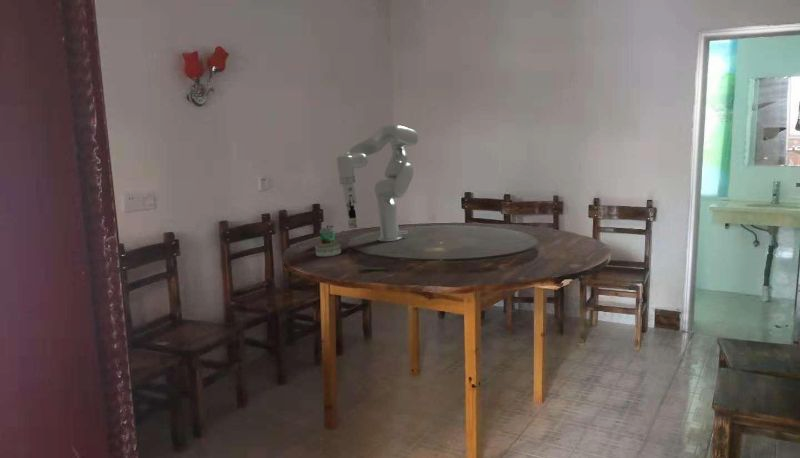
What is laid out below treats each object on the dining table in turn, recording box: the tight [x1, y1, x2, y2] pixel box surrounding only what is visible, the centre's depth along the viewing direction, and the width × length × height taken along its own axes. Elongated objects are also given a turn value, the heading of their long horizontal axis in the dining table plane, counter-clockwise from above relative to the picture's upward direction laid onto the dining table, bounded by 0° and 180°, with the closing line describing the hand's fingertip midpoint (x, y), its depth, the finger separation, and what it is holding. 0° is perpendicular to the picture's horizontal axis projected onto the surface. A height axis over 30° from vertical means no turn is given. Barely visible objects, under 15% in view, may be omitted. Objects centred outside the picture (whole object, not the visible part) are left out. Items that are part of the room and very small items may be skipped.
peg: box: [345, 203, 358, 230], centre depth 309 cm, size 4×4×14 cm
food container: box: [319, 224, 336, 245], centre depth 328 cm, size 12×6×10 cm, turn 168°
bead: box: [314, 242, 342, 257], centre depth 308 cm, size 12×12×4 cm
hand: (351, 217), depth 309 cm, fingers closed on peg, 4 cm apart
